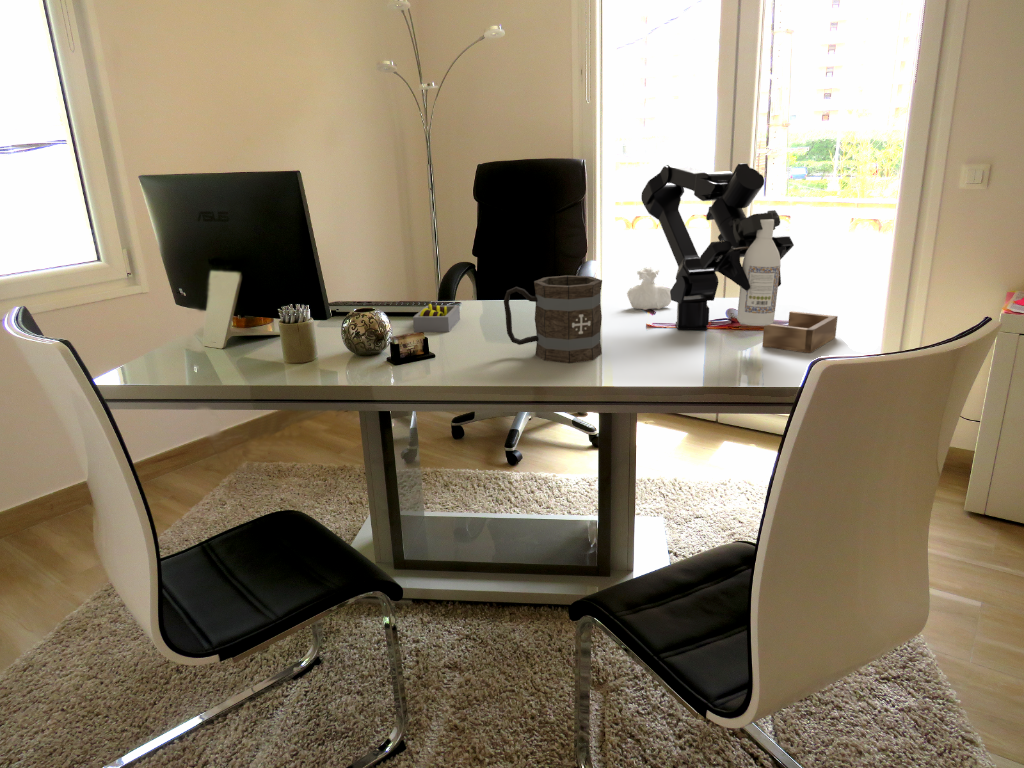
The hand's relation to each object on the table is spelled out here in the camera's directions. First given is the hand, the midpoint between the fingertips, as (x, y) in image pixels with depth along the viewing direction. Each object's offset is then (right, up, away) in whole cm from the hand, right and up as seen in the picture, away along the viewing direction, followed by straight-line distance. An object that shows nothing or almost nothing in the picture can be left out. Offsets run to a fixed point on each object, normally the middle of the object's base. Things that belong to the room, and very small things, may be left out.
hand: (763, 287), depth 141 cm
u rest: (+11, -10, +12) cm, 19 cm away
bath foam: (-1, -7, +4) cm, 8 cm away
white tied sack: (-13, +1, +49) cm, 51 cm away
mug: (-40, -13, +8) cm, 43 cm away
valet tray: (-67, -4, +36) cm, 76 cm away
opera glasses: (-67, -5, +36) cm, 77 cm away
